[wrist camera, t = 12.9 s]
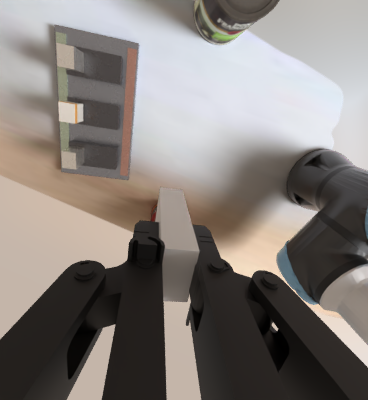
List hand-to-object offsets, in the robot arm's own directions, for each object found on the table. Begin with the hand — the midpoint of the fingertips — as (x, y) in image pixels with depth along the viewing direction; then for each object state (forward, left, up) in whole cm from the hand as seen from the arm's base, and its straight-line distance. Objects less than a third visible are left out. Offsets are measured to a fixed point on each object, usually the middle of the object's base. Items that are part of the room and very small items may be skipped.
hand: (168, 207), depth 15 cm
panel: (+13, -2, -36) cm, 39 cm away
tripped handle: (+16, -2, -32) cm, 36 cm away
